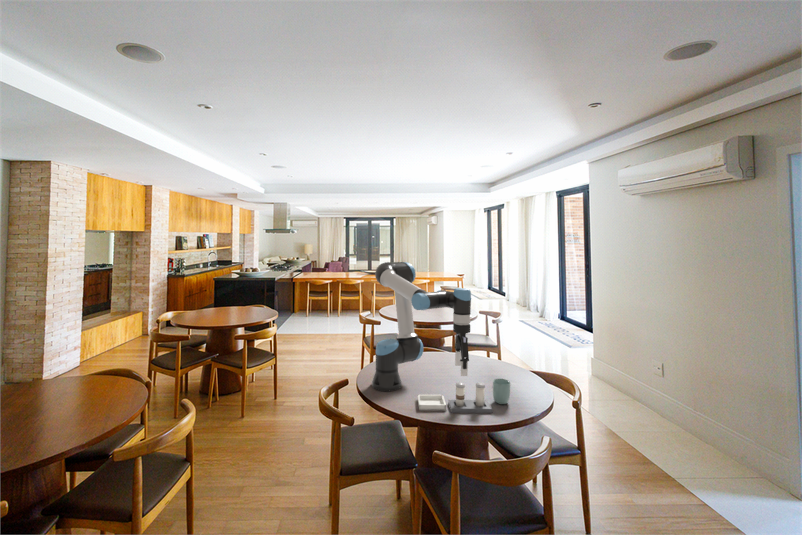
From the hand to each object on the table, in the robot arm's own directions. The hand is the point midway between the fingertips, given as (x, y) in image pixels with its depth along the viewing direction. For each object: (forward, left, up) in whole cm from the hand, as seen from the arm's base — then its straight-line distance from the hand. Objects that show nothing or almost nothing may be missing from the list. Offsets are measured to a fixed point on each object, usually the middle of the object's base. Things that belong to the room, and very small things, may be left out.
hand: (461, 370), depth 156 cm
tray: (-13, +3, -17) cm, 22 cm away
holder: (+4, 0, -17) cm, 18 cm away
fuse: (+9, 0, -17) cm, 19 cm away
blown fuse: (0, 0, -17) cm, 17 cm away
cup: (+20, +6, -17) cm, 28 cm away
